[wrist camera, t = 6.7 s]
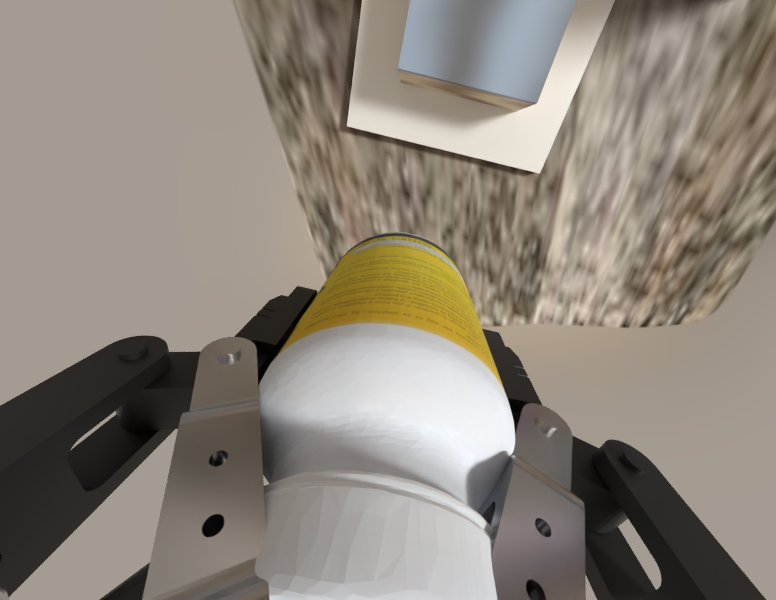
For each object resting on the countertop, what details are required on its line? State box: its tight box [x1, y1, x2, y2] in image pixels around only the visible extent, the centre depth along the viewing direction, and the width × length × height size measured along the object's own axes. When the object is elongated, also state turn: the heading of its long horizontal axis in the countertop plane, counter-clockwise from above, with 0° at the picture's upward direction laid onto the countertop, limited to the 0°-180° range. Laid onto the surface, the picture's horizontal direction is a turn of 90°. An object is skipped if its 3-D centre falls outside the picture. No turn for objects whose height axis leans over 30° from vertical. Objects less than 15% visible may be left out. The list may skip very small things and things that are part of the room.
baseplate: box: [347, 0, 615, 173], centre depth 21 cm, size 18×18×1 cm
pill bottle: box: [255, 232, 515, 600], centre depth 9 cm, size 6×6×12 cm
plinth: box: [398, 0, 577, 111], centre depth 19 cm, size 10×10×4 cm
